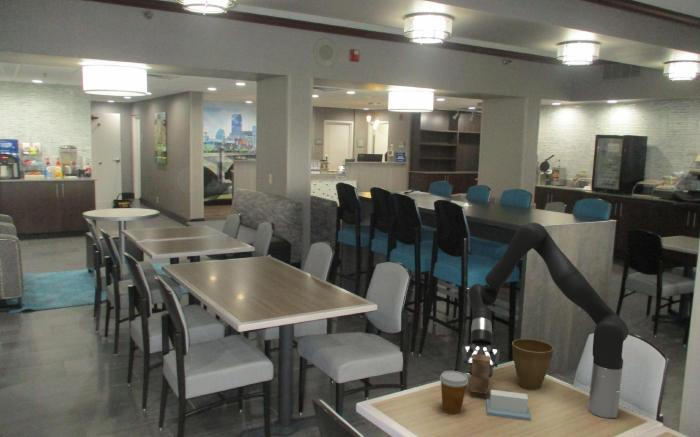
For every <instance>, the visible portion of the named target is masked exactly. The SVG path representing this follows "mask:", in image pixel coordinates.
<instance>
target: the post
mask: <svg viewBox="0 0 700 437" xmlns="http://www.w3.org/2000/svg"><path fill="white" fill-rule="evenodd" d="M471 355H472V354H471ZM490 357H491V355H490V356H486V355H483V354H476V355H475V354H473V355H472V375H470V392H474V393H480V394H481V393H482V394H489V393H488V392H489V383H490V382H489V381H490V377H489V368H490Z"/></svg>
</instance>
